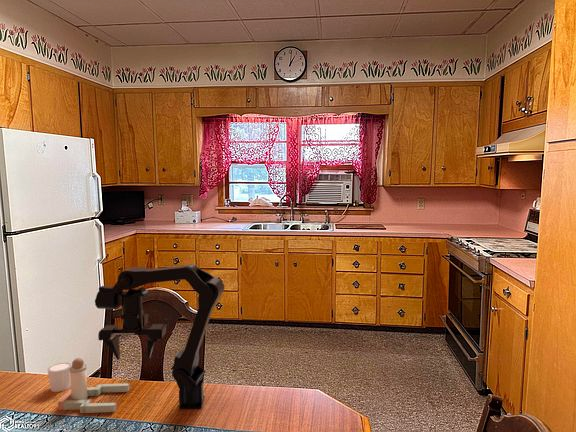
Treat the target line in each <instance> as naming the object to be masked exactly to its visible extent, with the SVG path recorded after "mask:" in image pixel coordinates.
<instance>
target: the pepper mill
mask: <svg viewBox="0 0 576 432" xmlns="http://www.w3.org/2000/svg"><path fill="white" fill-rule="evenodd" d="M87 375H88V374H87V364H86V363H84V359H83V358H80V357H76V358H75V359H74V360H73V361H72V362H71V367H70V380H71V382H70V389H71V400H89V399H88V398H89V396H88V395H87V388H88V380H87V378H88V376H87Z"/></svg>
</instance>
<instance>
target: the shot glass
mask: <svg viewBox="0 0 576 432" xmlns="http://www.w3.org/2000/svg"><path fill="white" fill-rule="evenodd" d="M71 366H72V363H70V362H59V363H55V364H53V365H50V366H49V367H48V368H47V375H48V380H49V387H50V391H51V392H53V393H56V392H57V393H58V392H64V391H65V390H69V389H70V388H71V380H70V367H71Z"/></svg>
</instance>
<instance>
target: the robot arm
mask: <svg viewBox="0 0 576 432" xmlns="http://www.w3.org/2000/svg"><path fill="white" fill-rule="evenodd" d="M182 280H185V281H186V282H187V283H188V284H189V285H190V287H191V288H192V290H193V291H195V292H196V293H197V294H198V297H197V312H196V314H195V318H194V321H193V322H192V323H193V324H192V326H191V329H190V332H189V336H188V339H187V341H186V344H185V348H182V349H180V351H179V352H178V353H177V354H176V355H175V356H174V360H173V365H172V367H171V368H170V370H172V371H171V376H172V377H173V380H175V383H176V384H177V387H178V389H179V390H178V403H179V410H182V409H183V410H186V409H202V408H203V404H204V401H205V398H206V397H205V395H204V380H203V379H204V377H205V375H206V370H205V369H204V368H202V366H201V365H200V364H199V361H200V347H201V345H202V343H203V339H204V338H205V337H204V336H205V334H206V330H207V328H208V324H209V321H210V319H211V316H212V313H213V310H214V309H215V308H216V307H215V306H217V304H218V302H219V300H220V298H221V297H222V295H223V294H224V291H225V284H224V283H223V281H222V280H221V279H220V278H218V277H215V276H213V275H212V274H211V273H209V272H207V271H205V270H203V269H201V268H200V267H199V266H197V265H195V264H193V263H190V264H187V265H186V264H185V265H178V266H169V267H168V266H166V267H158V268H148V267H145V266H143V267H142V266H132V267H129V268H128V269H127V268H126V269H125V270H122V271H121V272H119V275H118V276H117V281H116V282H115V284H114V285H113V286H108V285H102V286H99V287H98V292H97V293H96V296H95V299H94V304H95V307H96V308H97V309H102V310H119V308H121V315H120V319H121V321H122V328H119V325H118V324H106V325H104V326H103V328H101V329H100V330H99V331H98V334H97V335H98V336H97V337H98V341H102V343H103V344H106V346H108V347H109V349H110V350H111V352H112V353H113V355H114V356H115V359H116V360H117V361H119V360H120V359H121V351H120V349H121V348H120V342H119V341H120V336H133V335H134V336H138V335H139V336H141V335H142V336H145V335H146V336H148V339H147V343H146V344H147V345H146V346H147V360H150V359H151V357H152V353H153V350H154V348H155V344H156V343H157V342H159V340H161V339H163V338H164V336H165V334H166V333H167V325H165V324H164V323H157V324H156V323H153V324H152V325H151V326H150V327H145V326H147V325H148V322H149V321H148V319H149V314H148V313H144V309H143V297H145V296H147V295H148V294H149V291H148V289H146V288H144V285H147V284H154V283H163V282H173V281H182Z"/></svg>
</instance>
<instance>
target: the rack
mask: <svg viewBox="0 0 576 432" xmlns="http://www.w3.org/2000/svg"><path fill="white" fill-rule="evenodd" d="M129 391H130V383H98V384H97V385H96V387H88V386H87V395H88V397H90V396H91V397H98V396H100V395H101V394H102V393H122V392H123V393H126V392H129ZM57 408H58V410H59V411H63V410H65V411H66V410H71V411H72V410H79V411H80V412H79V413H80V414H89V413H91V414H92V413H93V414H94V413H115V412H116V410H117V403H116V402H94V403H93V402H92V401H91V399H88V400H71V388H69V389H68V390H67V391H66V392H65V394H64V395H63V396H62V397H61V398H60V399H59V400H58V401H57Z"/></svg>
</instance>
